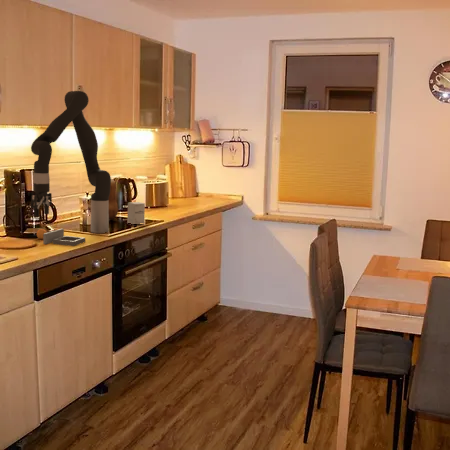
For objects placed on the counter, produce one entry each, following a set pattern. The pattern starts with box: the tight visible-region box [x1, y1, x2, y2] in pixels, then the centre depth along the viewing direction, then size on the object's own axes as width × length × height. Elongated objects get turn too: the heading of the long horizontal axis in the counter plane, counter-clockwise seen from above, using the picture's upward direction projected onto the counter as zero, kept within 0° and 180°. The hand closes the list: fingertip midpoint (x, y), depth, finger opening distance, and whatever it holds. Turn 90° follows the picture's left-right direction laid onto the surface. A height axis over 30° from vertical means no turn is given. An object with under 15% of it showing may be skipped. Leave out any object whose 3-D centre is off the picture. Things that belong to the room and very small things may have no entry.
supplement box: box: [127, 201, 146, 225], centre depth 350 cm, size 7×7×13 cm
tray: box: [52, 235, 86, 247], centre depth 290 cm, size 11×11×2 cm
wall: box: [42, 228, 65, 245], centre depth 292 cm, size 16×1×5 cm, turn 164°
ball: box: [36, 228, 47, 240], centre depth 296 cm, size 5×5×5 cm
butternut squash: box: [108, 178, 119, 221], centre depth 357 cm, size 14×13×25 cm
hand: (41, 215), depth 294 cm, fingers open, 8 cm apart
